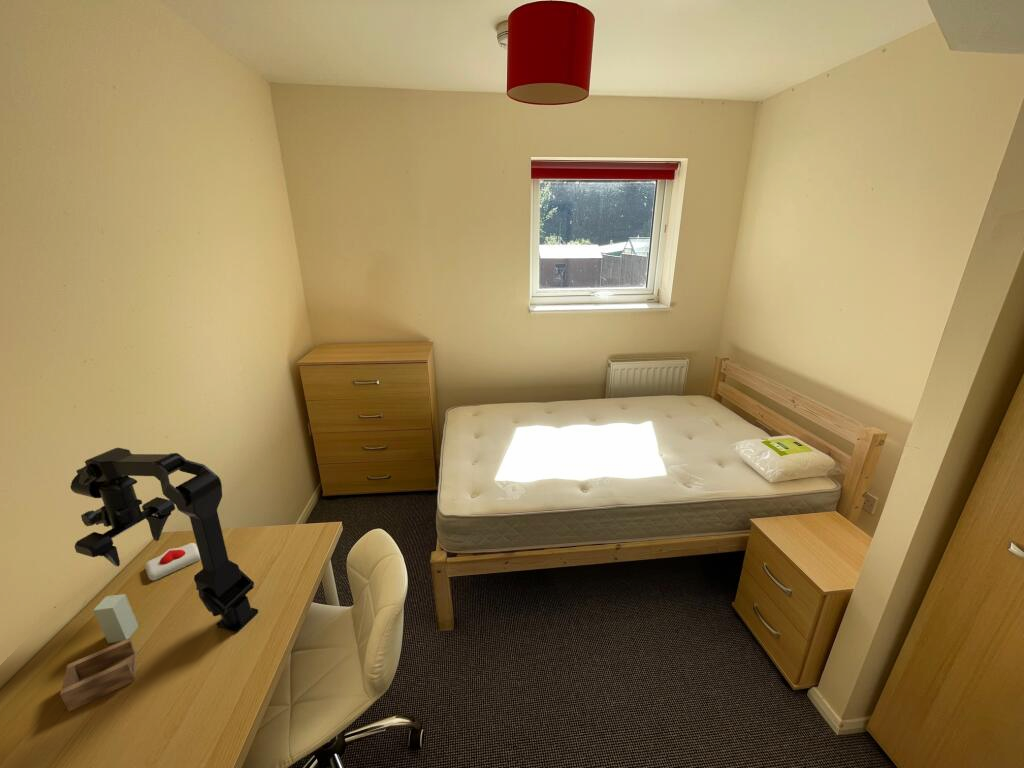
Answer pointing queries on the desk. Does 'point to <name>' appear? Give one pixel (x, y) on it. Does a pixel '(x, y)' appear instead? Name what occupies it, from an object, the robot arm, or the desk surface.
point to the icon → (172, 561)
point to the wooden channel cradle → (98, 674)
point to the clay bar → (116, 618)
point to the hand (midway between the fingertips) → (137, 552)
